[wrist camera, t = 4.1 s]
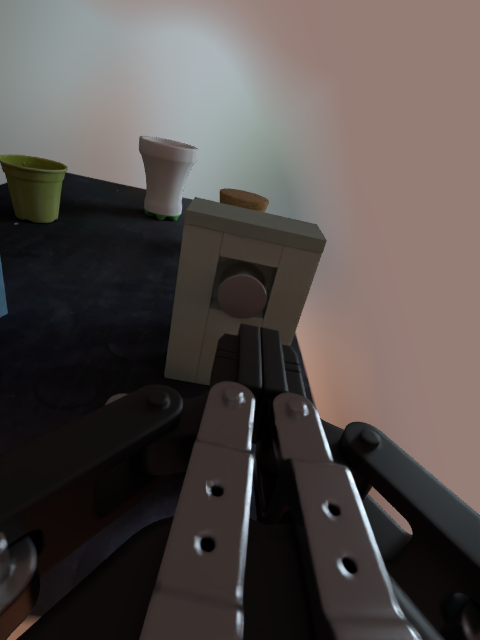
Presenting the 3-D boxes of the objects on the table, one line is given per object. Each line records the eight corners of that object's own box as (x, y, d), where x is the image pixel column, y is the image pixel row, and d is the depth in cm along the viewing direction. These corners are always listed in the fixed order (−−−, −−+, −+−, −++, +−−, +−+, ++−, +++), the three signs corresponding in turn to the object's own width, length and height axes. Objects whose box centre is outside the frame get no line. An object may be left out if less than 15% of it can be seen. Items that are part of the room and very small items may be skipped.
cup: (157, 205, 81) (163, 137, 74) (198, 220, 77) (208, 150, 71) (123, 211, 72) (126, 134, 65) (167, 227, 68) (176, 148, 61)
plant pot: (55, 208, 64) (52, 157, 60) (79, 225, 59) (78, 171, 55) (-5, 209, 58) (-13, 152, 53) (16, 228, 53) (10, 167, 48)
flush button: (259, 308, 29) (270, 268, 27) (260, 323, 26) (272, 280, 25) (216, 299, 28) (224, 258, 27) (213, 314, 26) (221, 269, 24)
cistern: (270, 368, 36) (316, 224, 28) (272, 398, 32) (326, 240, 25) (173, 350, 35) (195, 196, 28) (163, 378, 31) (185, 209, 24)
